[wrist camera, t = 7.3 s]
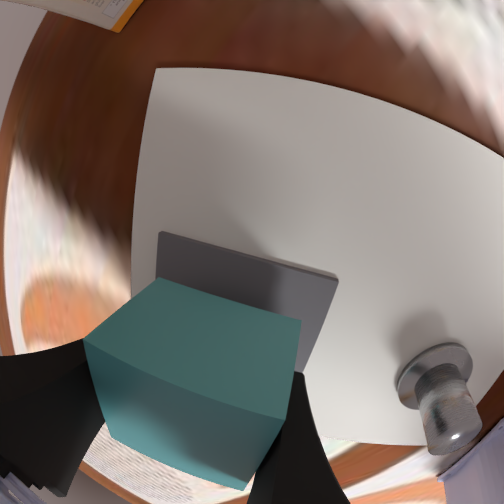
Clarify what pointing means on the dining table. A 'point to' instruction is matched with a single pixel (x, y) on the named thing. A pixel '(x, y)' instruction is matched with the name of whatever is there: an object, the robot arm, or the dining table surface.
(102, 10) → the supplement box
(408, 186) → the pale board
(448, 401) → the metal post
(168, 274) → the charcoal mat
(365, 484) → the dining table surface
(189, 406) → the turquoise box
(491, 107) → the dining table surface
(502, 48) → the dining table surface
